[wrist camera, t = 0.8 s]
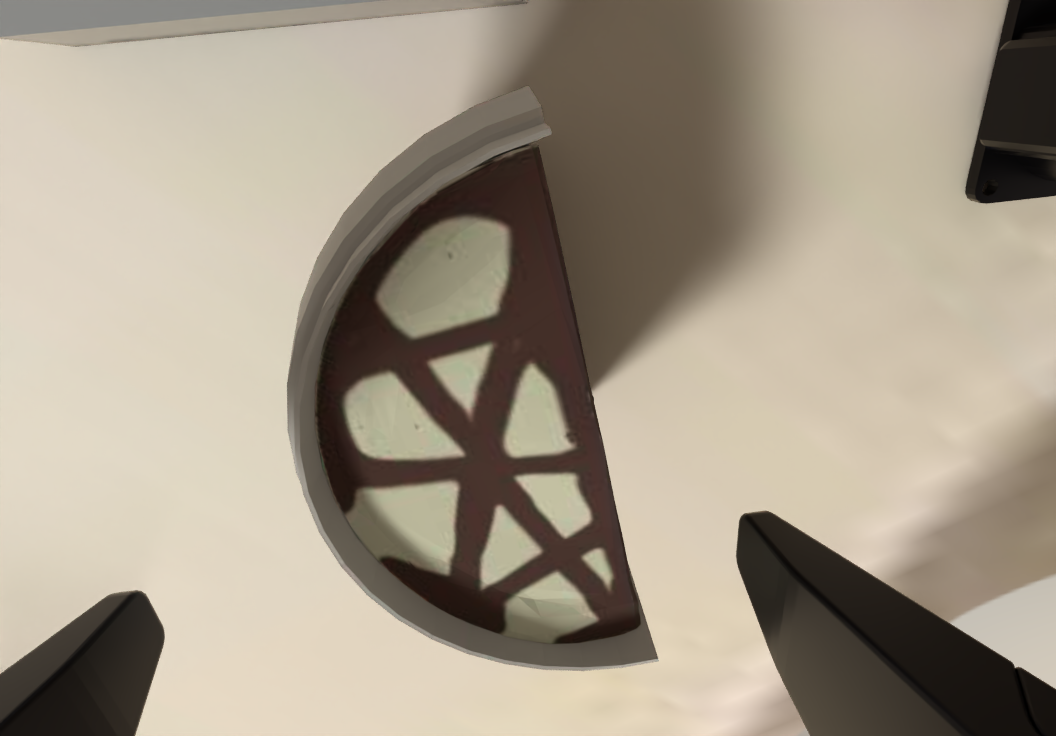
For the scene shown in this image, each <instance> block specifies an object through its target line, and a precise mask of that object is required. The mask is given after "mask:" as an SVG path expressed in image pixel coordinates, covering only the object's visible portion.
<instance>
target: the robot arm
mask: <svg viewBox="0 0 1056 736" xmlns="http://www.w3.org/2000/svg"><path fill="white" fill-rule="evenodd" d="M987 181H988V186H987V188H986V190H985V191H984V192H983V186H984V184H985V183H986V182H987ZM965 193H966V196H967V198H968V199H970V200H971V201H975V202H979V203H995V202H1004V201H1013V200H1022V199H1031V198H1040V197H1049V196H1056V0H1009V4H1008V9H1007V13H1006V17H1005V21H1004V26H1003V30H1002V34H1001V39H1000V43H999V47H998V51H997V56H996V60H995V64H994V68H993V73H992V77H991V81H990V86H989V90H988V94H987V98H986V103H985V107H984V111H983V116H982V120H981V124H980V128H979V133H978V137H977V141H976V145H975V150H974V154H973V158H972V163H971V167H970V171H969V175H968V180H967V184H966V191H965ZM736 558H737V564H738V568H739V571H740V574H741V577H742V579H743V582H744V585H745V587H746V590H747V593H748V595H749V598H750V601H751V603H752V606H753V608H754V611H755V614H756V616H757V619H758V622H759V624H760V627H761V630H762V632H763V635H764V638H765V640H766V643H767V646H768V648H769V651H770V653H771V656H772V658H773V661H774V663H775V666H776V668H777V670H778V672H779V674H780V676H781V678H782V681H783V683H784V685H785V687H786V689H787V691H788V693H789V695H790V697H791V699H792V701H793V703H794V705H795V707H796V709H797V711H798V713H799V715H800V717H801V719H802V721H803V723H804V725H805V727H806V729H807V731H808V732H809V735H810V736H1056V689H1055V688H1053V687H1051V686H1050V685H1048V684H1047V683H1045V682H1043V681H1042V680H1040V679H1039V678H1037V677H1035V676H1034V675H1032V674H1031V673H1029V672H1027V671H1026V670H1024V669H1022V668H1020V667H1016V668H1015V667H1014V664H1013V663H1012V662H1011V661H1009V660H1008V659H1006V658H1005V657H1003V656H1001V655H1000V654H998V653H996V652H995V651H993V650H991V649H990V648H988V647H987V646H985V645H984V644H982V643H980V642H979V641H977V640H976V639H974V638H972V637H971V636H969V635H967V634H966V633H964V632H963V631H961V630H960V629H958V628H956V627H955V626H953V625H952V624H950V623H948V622H947V621H945V620H944V619H942V618H940V617H939V616H937V615H935V614H934V613H932V612H931V611H929V610H927V609H926V608H924V607H923V606H921V605H919V604H918V603H916V602H915V601H913V600H911V599H910V598H908V597H907V596H905V595H903V594H902V593H900V592H899V591H897V590H895V589H894V588H892V587H891V586H889V585H887V584H886V583H884V582H883V581H881V580H879V579H878V578H876V577H874V576H873V575H871V574H870V573H868V572H866V571H865V570H863V569H862V568H860V567H858V566H857V565H855V564H854V563H852V562H850V561H849V560H847V559H846V558H844V557H842V556H841V555H839V554H838V553H836V552H834V551H833V550H831V549H830V548H828V547H826V546H825V545H823V544H821V543H820V542H818V541H817V540H815V539H813V538H812V537H810V536H809V535H807V534H805V533H804V532H802V531H801V530H799V529H797V528H796V527H794V526H793V525H791V524H789V523H788V522H786V521H785V520H783V519H781V518H780V517H778V516H777V515H775V514H773V513H771V512H769V511H759V512H751V513H745V514H743V515H742V516H741V518H740V520H739V529H738V540H737V551H736ZM164 638H165V634H164V628H163V626H162V623H161V622H160V620H159V618H158V616H157V614H156V612H155V610H154V608H153V606H152V604H151V603H150V601H149V599H148V597H147V595H146V594H145V593H143V592H142V591H138V590H135V591H127V592H119V593H114V594H111V595H108V596H107V597H105V598H104V599H102V600H101V601H100V602H98V603H97V604H96V605H94V606H93V607H91V608H90V609H89V610H87V611H86V612H85V613H83V614H82V615H80V616H79V617H78V618H76V619H75V620H74V621H72V622H71V623H70V624H68V625H67V626H65V627H64V628H63V629H61V630H60V631H59V632H57V633H56V634H54V635H53V636H52V637H50V638H49V639H48V640H46V641H45V642H43V643H42V644H41V645H39V646H38V647H37V648H35V649H34V650H33V651H31V652H30V653H28V654H27V655H26V656H24V657H23V658H22V659H20V660H19V661H17V662H16V663H15V664H13V665H12V666H11V667H9V668H8V669H7V670H5V671H4V672H2V673H1V674H0V736H135V734H136V731H137V728H138V725H139V722H140V718H141V715H142V712H143V709H144V706H145V702H146V699H147V696H148V693H149V690H150V687H151V683H152V680H153V677H154V674H155V671H156V668H157V664H158V661H159V658H160V655H161V652H162V648H163V645H164Z"/></svg>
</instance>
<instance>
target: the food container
mask: <svg viewBox="0 0 1056 736" xmlns="http://www.w3.org/2000/svg"><path fill="white" fill-rule="evenodd" d="M551 134H552V132H551V128H550V127H549V126H548V125H547V124H546V123H545V122H544V116H543V111H542V107H541V105H540V103H539V102H538V100H537V98H536V97H535V95H534V93H533V92H532V90H531V89H530V87H529V86H526V87H523V88H521V89H518V90H515V91H513V92H510V93H507V94H505V95H502V96H499V97H497V98H494V99H491V100H489V101H486V102H483V103H481V104H478V105H475V106H474V107H472V108H470V109H468V110H467V111H465V112H463V113H461V114H459V115H458V116H456V117H454V118H452V119H451V120H449V121H447V122H445V123H444V124H442V125H440V126H438V127H437V128H435V129H433V130H431V131H430V132H428V133H426V134H424V135H423V136H422V137H421V138H419V139H418V140H417V141H416V142H415V143H413V144H412V145H411V146H410V147H408V148H407V149H406V150H405V151H404V152H402V153H401V154H400V155H399V156H398V157H396V158H395V159H394V160H393V161H391V162H390V163H389V164H388V165H387V166H385V167H384V168H383V169H382V170H380V171H379V173H378V174H377V175H376V176H375V177H374V178H373V180H372V181H371V182H370V183H369V184H368V185H367V186H366V188H365V189H364V190H363V191H362V192H361V193H360V195H359V196H358V197H357V198H356V199H355V200H354V202H353V203H352V204H351V205H350V206H349V207H348V209H347V210H346V211H345V212H344V213H343V215H342V217H341V218H340V220H339V222H338V223H337V225H336V227H335V229H334V230H333V232H332V234H331V235H330V237H329V239H328V240H327V242H326V244H325V245H324V247H323V249H322V251H321V252H320V254H319V256H318V257H317V260H316V262H315V265H314V268H313V270H312V273H311V276H310V278H309V281H308V284H307V287H306V289H305V292H304V295H303V297H302V300H301V303H300V307H299V313H298V318H297V324H296V330H295V336H294V341H293V347H292V353H291V360H290V367H289V375H288V382H287V412H288V434H289V439H290V444H291V449H292V454H293V458H294V463H295V468H296V473H297V476H298V478H299V480H300V483H301V485H302V490H303V494H304V497H305V499H306V502H307V504H308V506H309V509H310V511H311V514H312V516H313V519H314V521H315V523H316V526H317V528H318V531H319V533H320V534H321V536H322V538H323V539H324V541H325V542H326V544H327V545H328V547H329V548H330V550H331V552H332V553H333V555H334V556H335V558H336V559H337V561H338V562H339V564H340V566H341V567H342V568H343V569H344V570H345V571H346V572H347V573H348V575H349V576H350V577H351V578H352V579H353V580H354V581H355V582H356V583H357V584H358V585H359V587H360V588H361V589H362V590H363V591H364V592H365V593H366V594H367V595H368V596H369V597H370V598H371V599H373V600H374V601H375V602H376V603H378V604H379V605H380V606H382V607H383V608H384V609H385V610H387V611H388V612H389V613H390V614H392V615H393V616H394V617H395V618H397V619H398V620H399V621H401V622H403V623H405V624H406V625H408V626H410V627H412V628H413V629H415V630H417V631H418V632H420V633H422V634H424V635H425V636H427V637H429V638H431V639H432V640H435V641H437V642H440V643H442V644H445V645H447V646H450V647H452V648H454V649H457V650H459V651H462V652H464V653H467V654H470V655H473V656H477V657H481V658H485V659H488V660H492V661H496V662H500V663H503V664H508V665H515V666H522V667H529V668H536V669H543V670H572V671H588V670H600V669H612V668H623V667H629V666H634V665H640V664H646V663H651V662H657V661H659V660H658V657H657V653H656V650H655V647H654V644H653V641H652V638H651V634H650V631H649V628H648V625H647V622H646V619H645V615H644V612H643V609H642V606H641V603H640V600H639V596H638V593H637V590H636V587H635V584H634V581H633V577H632V574H631V571H630V568H629V565H628V561H627V556H626V552H625V547H624V542H623V537H622V532H621V528H620V523H619V519H618V514H617V510H616V505H615V501H614V496H613V491H612V486H611V481H610V476H609V471H608V465H607V460H606V455H605V450H604V445H603V441H602V436H601V432H600V428H599V423H598V419H597V414H596V410H595V405H594V397H593V395H592V392H591V388H590V383H589V379H588V374H587V369H586V364H585V359H584V354H583V349H582V344H581V339H580V334H579V329H578V325H577V320H576V315H575V310H574V305H573V300H572V296H571V291H570V286H569V282H568V277H567V272H566V268H565V263H564V258H563V254H562V249H561V244H560V240H559V235H558V230H557V226H556V221H555V216H554V212H553V208H552V203H551V199H550V195H549V190H548V186H547V182H546V177H545V173H544V168H543V164H542V160H541V155H540V151H539V147H538V145H529V144H531V143H533V142H535V141H538V140H540V139H542V138H544V137H547V136H549V135H551Z"/></svg>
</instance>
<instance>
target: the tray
mask: <svg viewBox="0 0 1056 736" xmlns="http://www.w3.org/2000/svg"><path fill="white" fill-rule="evenodd" d="M528 1H529V0H0V39H8V40H17V41H27V42H37V43H46V44H56V45H65V46H75V47H77V46H88V45H98V44H108V43H119V42H129V41H140V40H150V39H161V38H171V37H181V36H192V35H202V34H213V33H223V32H233V31H244V30H254V29H265V28H275V27H285V26H296V25H306V24H317V23H327V22H337V21H348V20H358V19H369V18H379V17H389V16H400V15H410V14H421V13H431V12H441V11H452V10H462V9H473V8H483V7H493V6H504V5H514V4H525V3H528Z"/></svg>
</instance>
